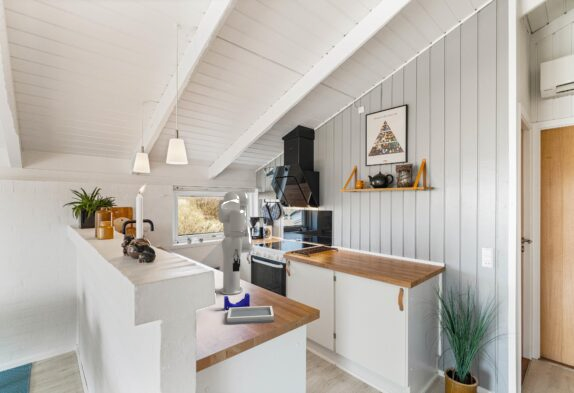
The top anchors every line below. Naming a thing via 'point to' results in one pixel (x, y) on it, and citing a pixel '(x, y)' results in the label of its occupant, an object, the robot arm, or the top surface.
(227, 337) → the top surface
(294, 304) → the top surface
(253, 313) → the shallow rectangular tray
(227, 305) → the blue long irregular block
